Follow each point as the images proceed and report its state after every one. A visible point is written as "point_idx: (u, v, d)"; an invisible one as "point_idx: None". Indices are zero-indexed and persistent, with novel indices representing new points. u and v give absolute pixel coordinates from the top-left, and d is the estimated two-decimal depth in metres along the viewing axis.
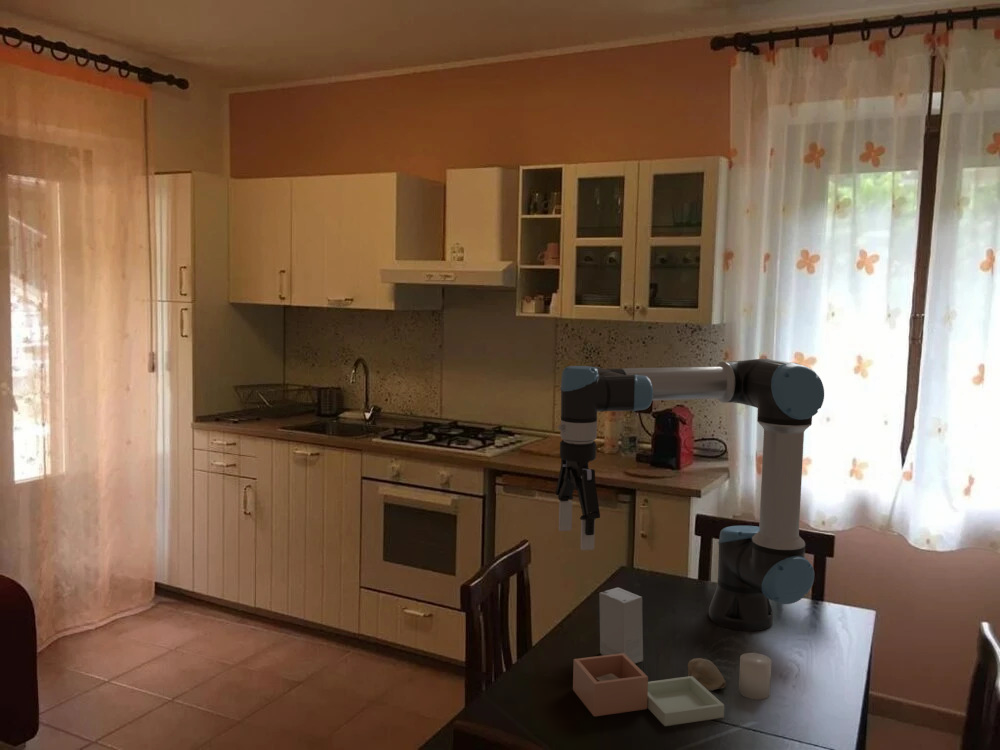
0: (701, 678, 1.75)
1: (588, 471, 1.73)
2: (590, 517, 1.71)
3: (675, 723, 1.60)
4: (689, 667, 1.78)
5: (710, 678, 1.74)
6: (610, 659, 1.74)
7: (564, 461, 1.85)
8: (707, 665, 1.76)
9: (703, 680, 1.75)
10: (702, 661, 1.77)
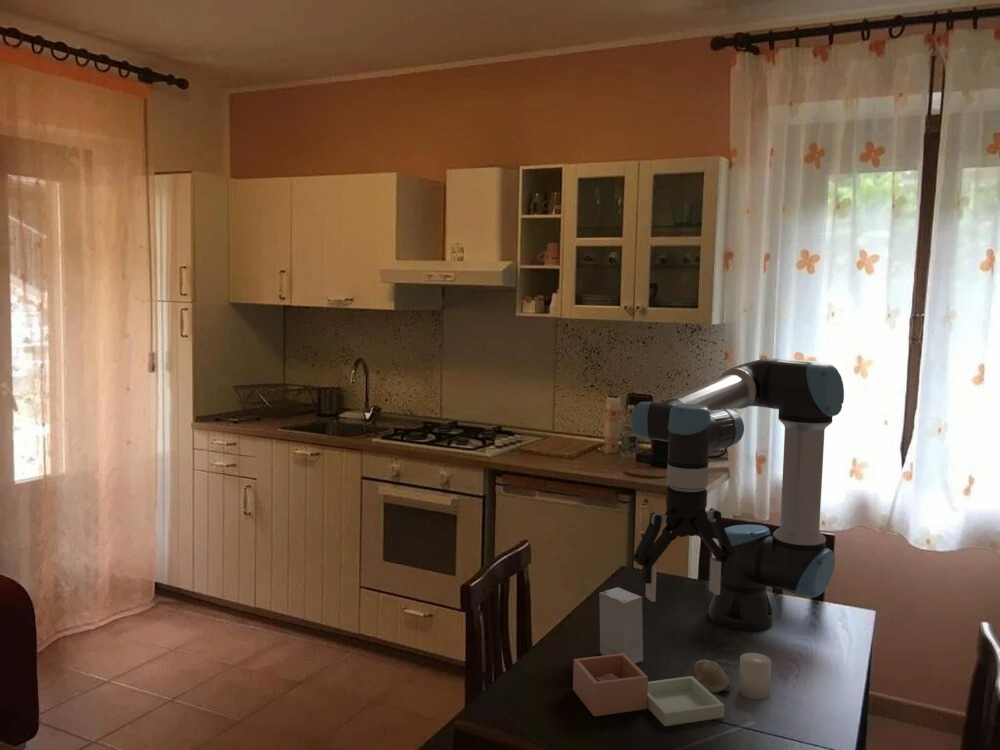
0: (706, 679, 1.74)
1: (653, 515, 1.61)
2: (634, 560, 1.61)
3: (675, 723, 1.60)
4: (695, 668, 1.78)
5: (715, 680, 1.74)
6: (610, 659, 1.74)
7: None
8: (713, 667, 1.75)
9: (708, 682, 1.74)
10: (708, 663, 1.76)
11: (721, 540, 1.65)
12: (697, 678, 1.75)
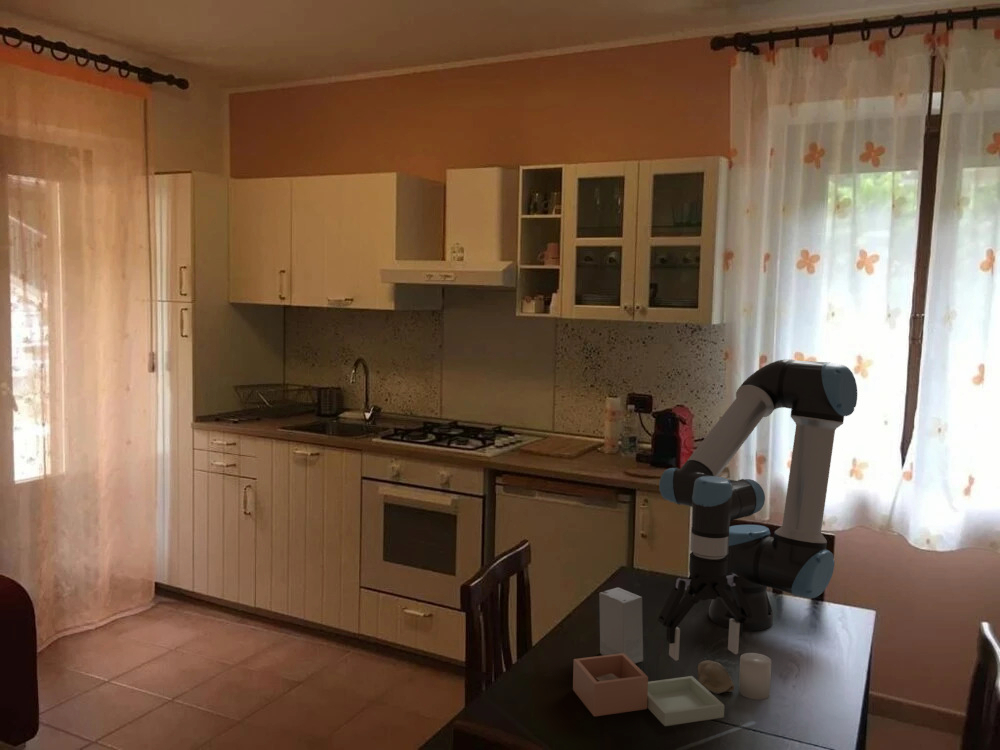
0: (709, 680, 1.74)
1: (677, 580, 1.73)
2: (659, 621, 1.73)
3: (675, 723, 1.60)
4: (698, 669, 1.77)
5: (718, 681, 1.73)
6: (610, 659, 1.74)
7: None
8: (716, 668, 1.75)
9: (711, 682, 1.74)
10: (711, 663, 1.76)
11: (739, 603, 1.77)
12: (700, 679, 1.75)
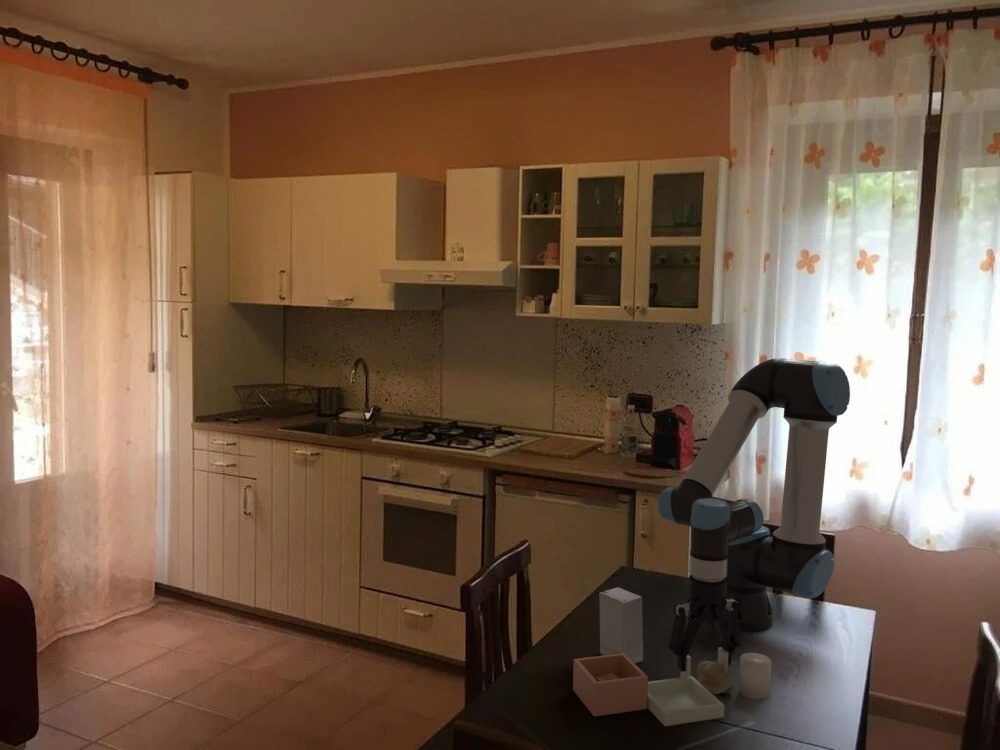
0: (707, 681, 1.73)
1: (676, 608, 1.74)
2: (670, 649, 1.75)
3: (675, 723, 1.60)
4: (698, 669, 1.77)
5: (716, 681, 1.72)
6: (610, 659, 1.74)
7: None
8: (715, 669, 1.74)
9: (709, 683, 1.73)
10: (710, 664, 1.75)
11: (732, 629, 1.77)
12: (699, 679, 1.75)
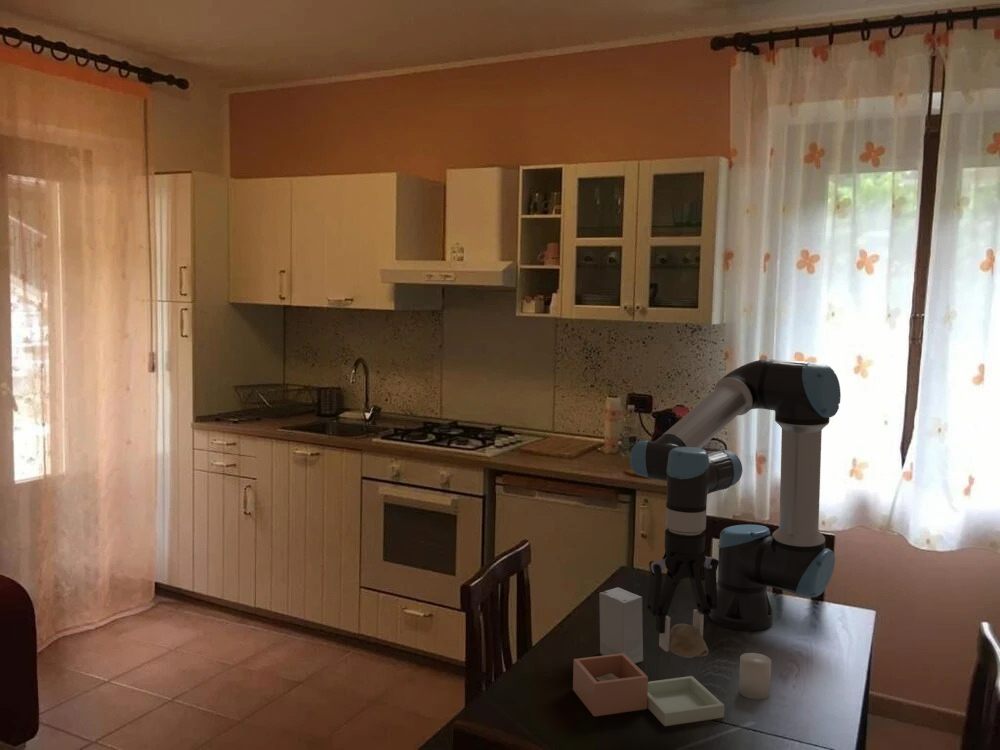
0: (681, 644, 1.61)
1: (651, 565, 1.62)
2: (648, 610, 1.63)
3: (675, 723, 1.60)
4: (671, 632, 1.65)
5: (690, 644, 1.60)
6: (610, 659, 1.74)
7: None
8: (689, 631, 1.62)
9: (683, 646, 1.61)
10: (684, 626, 1.63)
11: (709, 589, 1.65)
12: (672, 642, 1.62)
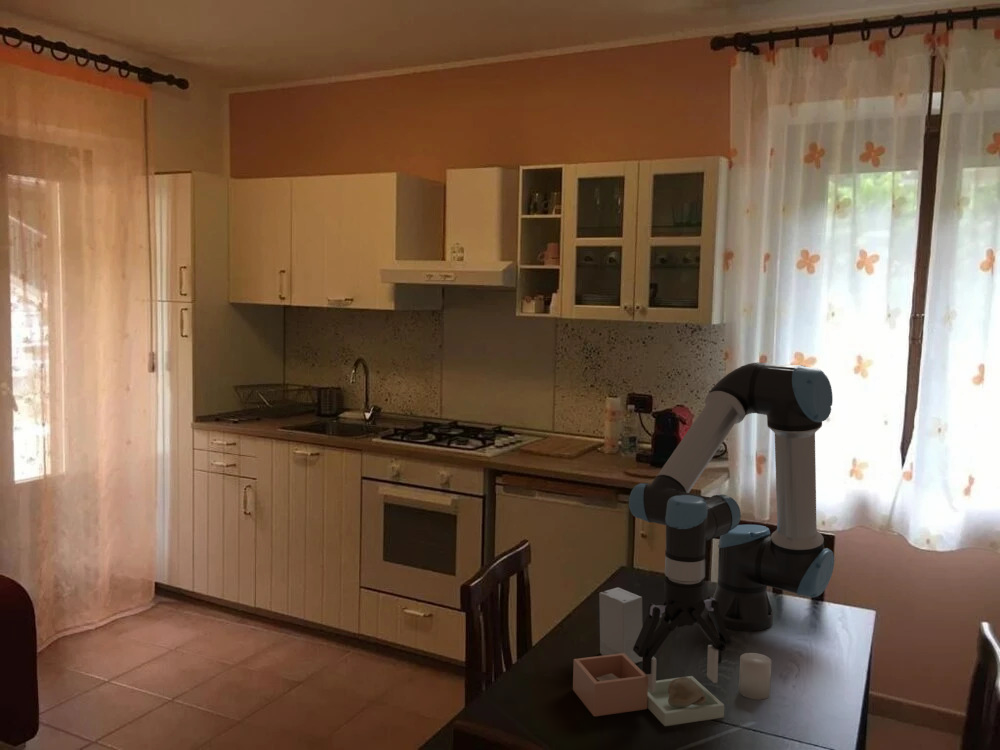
0: (678, 694, 1.63)
1: (651, 607, 1.63)
2: (634, 651, 1.63)
3: (675, 723, 1.60)
4: (668, 688, 1.67)
5: (687, 692, 1.62)
6: (610, 659, 1.74)
7: None
8: (684, 681, 1.65)
9: (680, 695, 1.63)
10: (680, 678, 1.66)
11: (718, 628, 1.67)
12: (669, 695, 1.64)
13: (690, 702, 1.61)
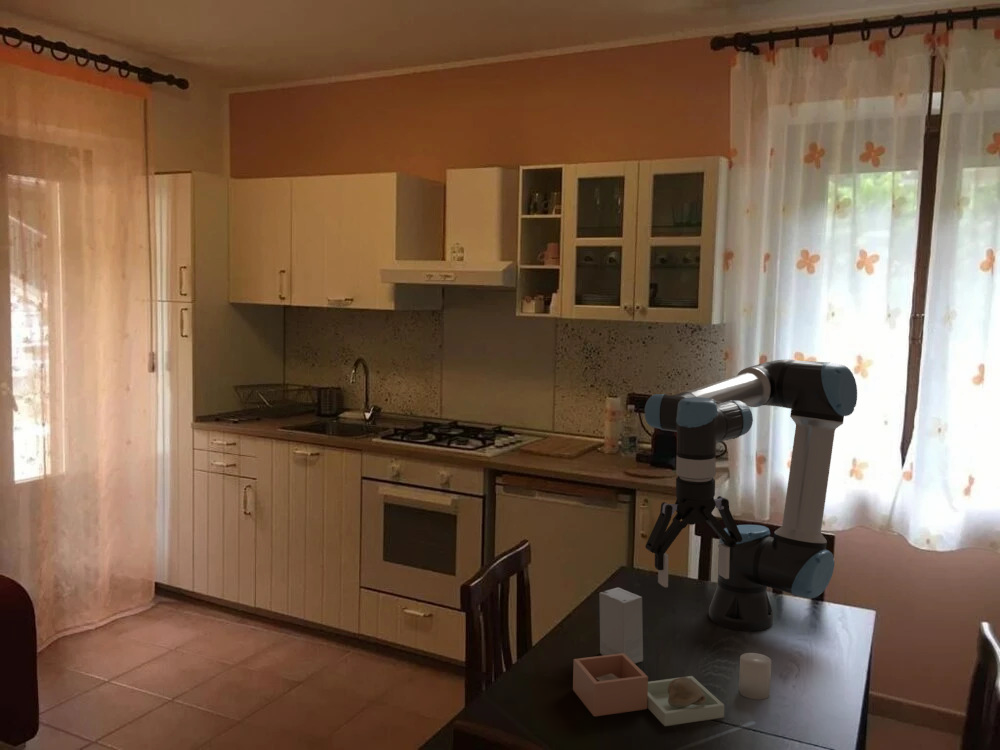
0: (678, 694, 1.63)
1: (664, 505, 1.67)
2: (646, 548, 1.68)
3: (675, 723, 1.60)
4: (668, 688, 1.67)
5: (687, 692, 1.62)
6: (610, 659, 1.74)
7: None
8: (684, 681, 1.65)
9: (680, 695, 1.63)
10: (680, 678, 1.66)
11: (729, 526, 1.72)
12: (669, 695, 1.64)
13: (690, 702, 1.61)
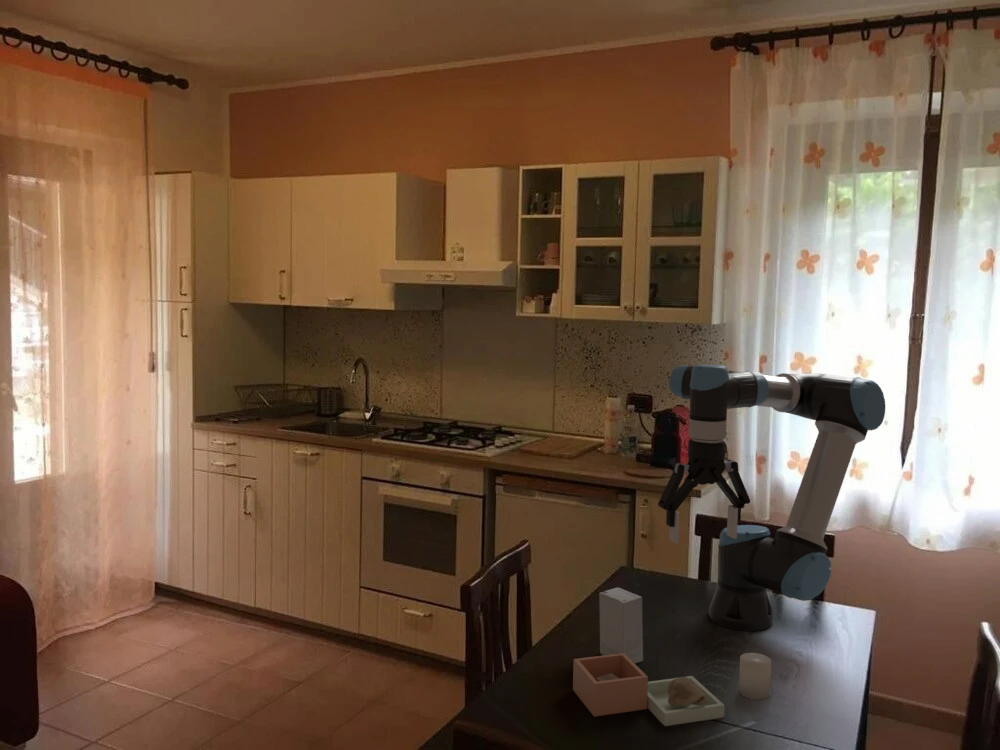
0: (678, 694, 1.63)
1: (676, 464, 1.77)
2: (659, 505, 1.77)
3: (675, 723, 1.60)
4: (668, 688, 1.67)
5: (687, 692, 1.62)
6: (610, 659, 1.74)
7: None
8: (684, 681, 1.65)
9: (680, 695, 1.63)
10: (680, 678, 1.66)
11: (737, 488, 1.81)
12: (669, 695, 1.64)
13: (690, 702, 1.61)
